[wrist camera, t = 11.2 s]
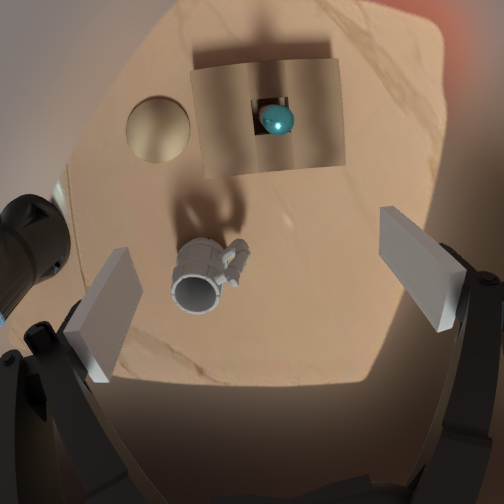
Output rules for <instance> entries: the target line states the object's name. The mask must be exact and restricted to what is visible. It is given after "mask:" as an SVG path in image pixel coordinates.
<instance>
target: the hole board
mask: <svg viewBox="0 0 504 504" xmlns="http://www.w3.org/2000/svg"><path fill="white" fill-rule="evenodd" d="M190 77H191V84H192V92H193V99H194V107H195V114H196V121H197V128H198V135H199V141H200V148H201V155H202V161H203V168H204V174H205V179H210V178H218V177H226V176H234V175H242V174H251V173H260V172H270V171H280V170H291V169H303V168H316V167H330V166H346V162H345V137H344V119H343V104H342V92H341V80H340V70H339V60H338V59H292V60H274V61H261V62H250V63H241V64H232V65H224V66H217V67H210V68H204V69H198V70H192V71H190ZM278 97H284V98H285V107H287V108H288V109H289V110H290V111H291V112H292V113H293V115H294V126H293V128H292V129H291V130H290V131H289V132H288V133H287V134H285V135H280V136H278V135H273V134H271V133H269V132H268V131H267V132H256V133H254V125H253V117H252V108H251V100H255V99H266V98H278Z"/></svg>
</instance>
